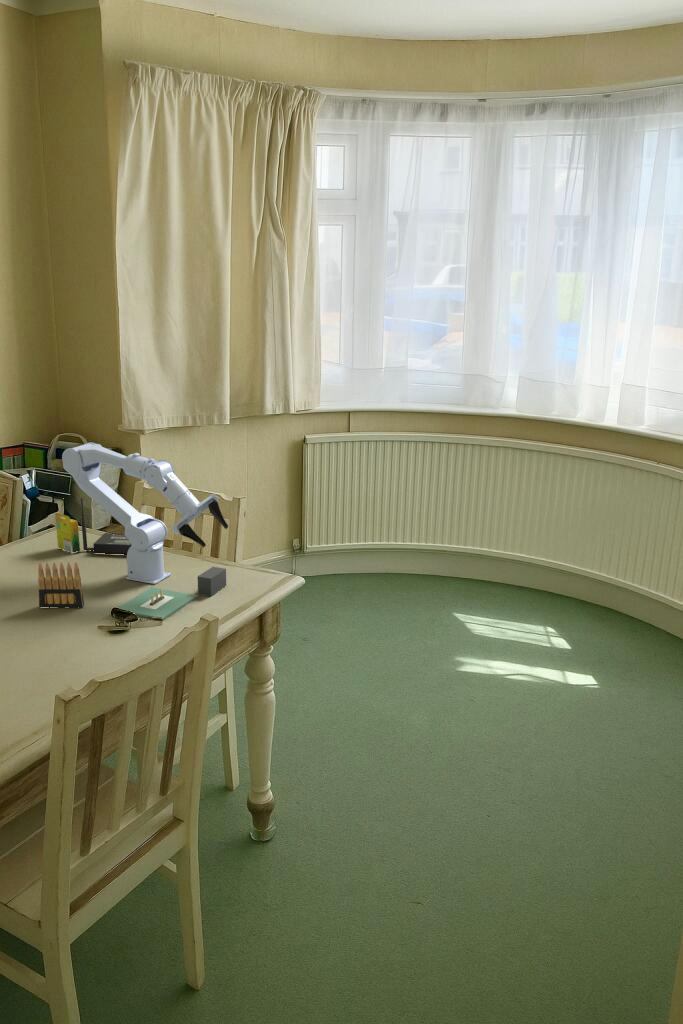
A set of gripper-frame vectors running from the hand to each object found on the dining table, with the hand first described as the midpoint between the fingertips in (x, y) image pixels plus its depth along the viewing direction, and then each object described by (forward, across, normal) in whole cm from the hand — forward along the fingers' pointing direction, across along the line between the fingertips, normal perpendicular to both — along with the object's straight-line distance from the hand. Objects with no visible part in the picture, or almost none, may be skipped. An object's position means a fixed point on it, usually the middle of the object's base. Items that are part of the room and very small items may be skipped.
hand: (215, 536), depth 222 cm
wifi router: (-22, -17, +40) cm, 49 cm away
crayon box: (-32, -28, +41) cm, 59 cm away
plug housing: (+9, -9, +8) cm, 15 cm away
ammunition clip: (-12, -40, +4) cm, 42 cm away
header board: (+3, -22, +2) cm, 23 cm away
